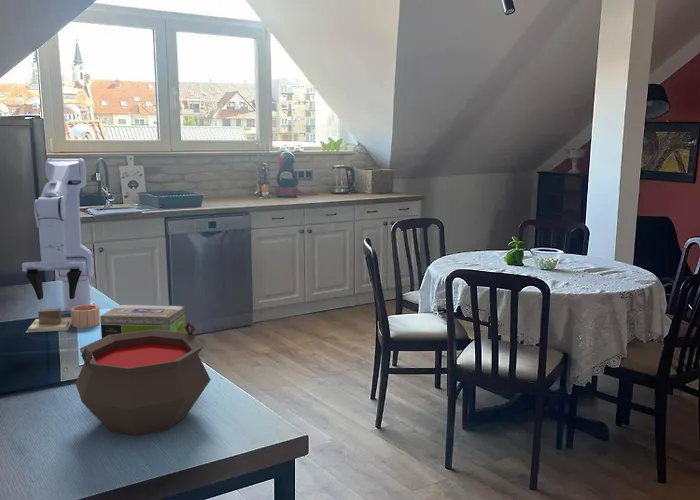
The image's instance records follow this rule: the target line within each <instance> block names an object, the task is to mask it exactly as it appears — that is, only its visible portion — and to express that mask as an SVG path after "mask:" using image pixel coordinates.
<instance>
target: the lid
mask: <svg viewBox="0 0 700 500" xmlns="http://www.w3.org/2000/svg"><path fill="white" fill-rule="evenodd" d="M61 309H62V308H61V307H60V308H57V307H56V308H42V309H39V310H38V311H37V312H38V313H37V315H38V318H35V320H33V321H32V323H31V325H30V326H29V327H28V328H27V330H28V333H34V332H33V331H46V332H52V331H51V330H64V331H67V330H66V329H67V327H68V325H69V324H70V322H71V316H70V317H62V311H61Z"/></svg>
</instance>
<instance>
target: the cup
mask: <svg viewBox="0 0 700 500" xmlns="http://www.w3.org/2000/svg"><path fill="white" fill-rule="evenodd" d="M100 316H101V313H100V306H99V305H97V304H93V305H92V304H91V305H90V304H88V305H79V306H75V307H72V308H71V309H70V317H71V325H70V326H71V327H73V328H77V329H78V328H80V329H85V328H86V329H87V328H92V327H96V326H98V325H101V321H100Z"/></svg>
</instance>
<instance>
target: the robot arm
mask: <svg viewBox="0 0 700 500" xmlns="http://www.w3.org/2000/svg"><path fill="white" fill-rule="evenodd" d="M44 164H45V165H44V168H45V169H44V170H45V171H44V172H45V177H46V179H47V180H48V182H46V183H45V184H44V187H43V190H42V192H41V195H40V196H39V197H37V198H38V199H35V200H34V202H33V213H34V217H35V221H36V222H35V223H36V228H37V229H38V235H39V237H38V239H39V251H40V261H25V262H23V263H22V264H21V268H22V272H26V273H25V276H26V278H27V280H28V281H29V282H30V284H31V286H32V287H33V290H34V292H35V296H36V299H37V301H39V300H40V301H41V300H42V299H43V298H44V289H43V271H44V272H45V271H55V275H56V277H57V278H58V279H60V282H61V283H62V284H61V285H62V295H63V299H62V300H63V306H62V307H61V308H60V309H61V312H67V311H68V312H69V311H70V309H71V308H72V307H75V306H79V305H88V304H90V305H91V304H92V305H95V304H94V303H95V301H92V299H91V285H90V278H91V277H92V276H94V273H95V271H94V270H95V263H94V258H93V252H92V250H91V249H89V248H88V247H86V246H85V245H84V244H82V225H81V208H80V207H81V206H80V203H81V202H80V192H81V189H82V188H85V187H86V186H87V182H88V181H87V166H86V161H85V160H84V159H83V157H82V158H81V157H80V158H51V157H48V158H47V159H46V160H45V163H44ZM70 312H71V311H70Z"/></svg>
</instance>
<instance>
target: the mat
mask: <svg viewBox="0 0 700 500" xmlns="http://www.w3.org/2000/svg"><path fill="white" fill-rule="evenodd" d="M71 326H72V325H71V322H70V324H69V325H68V327H67V329H66V330H51V331H50V332H61V331H64V332H65V331H68V330H69V329H70V327H71ZM44 332H47V331H33V332H32V333H44ZM25 333H28V334H29V332H28V329H27V330H26V331H25Z"/></svg>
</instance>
